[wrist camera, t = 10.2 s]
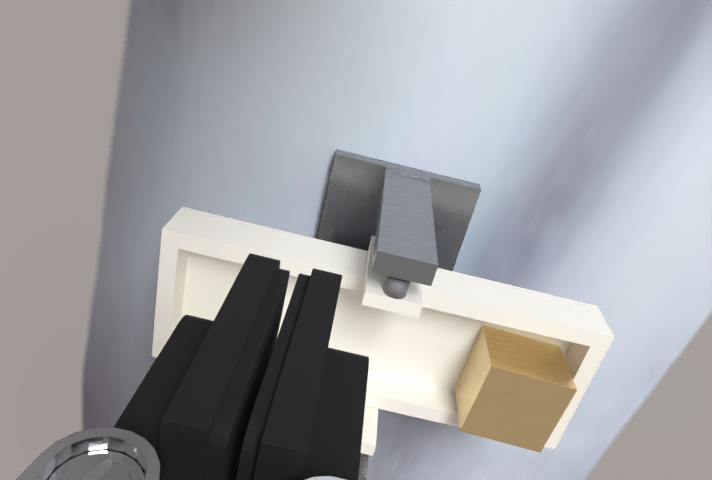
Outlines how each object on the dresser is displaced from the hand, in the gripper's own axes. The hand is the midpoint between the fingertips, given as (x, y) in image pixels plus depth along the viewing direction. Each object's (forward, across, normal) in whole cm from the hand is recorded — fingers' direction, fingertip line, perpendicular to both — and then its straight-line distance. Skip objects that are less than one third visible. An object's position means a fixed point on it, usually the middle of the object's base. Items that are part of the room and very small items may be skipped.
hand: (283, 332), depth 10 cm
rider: (+21, -13, +15) cm, 28 cm away
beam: (+25, -4, +14) cm, 29 cm away
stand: (+28, -4, +14) cm, 32 cm away
